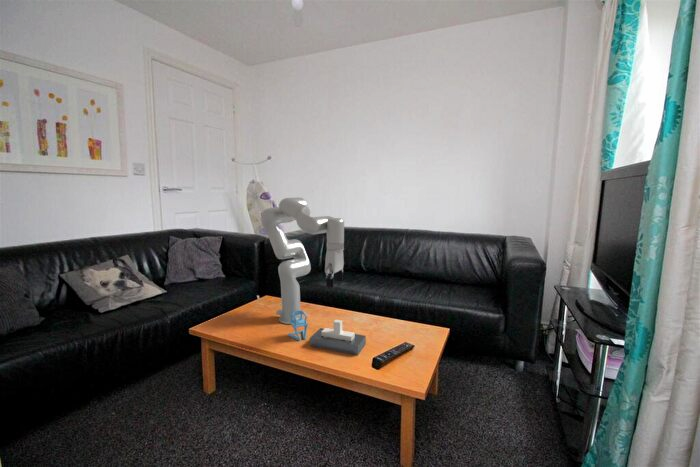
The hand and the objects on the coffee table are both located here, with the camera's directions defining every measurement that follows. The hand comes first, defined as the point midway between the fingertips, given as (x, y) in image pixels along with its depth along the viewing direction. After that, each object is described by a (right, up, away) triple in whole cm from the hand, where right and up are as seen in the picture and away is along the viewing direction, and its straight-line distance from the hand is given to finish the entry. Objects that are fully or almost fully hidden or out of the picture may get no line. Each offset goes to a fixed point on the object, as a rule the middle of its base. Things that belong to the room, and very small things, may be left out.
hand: (334, 283), depth 143 cm
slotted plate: (+2, -26, -4) cm, 27 cm away
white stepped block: (+2, -26, -4) cm, 26 cm away
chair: (-17, -25, +4) cm, 31 cm away
